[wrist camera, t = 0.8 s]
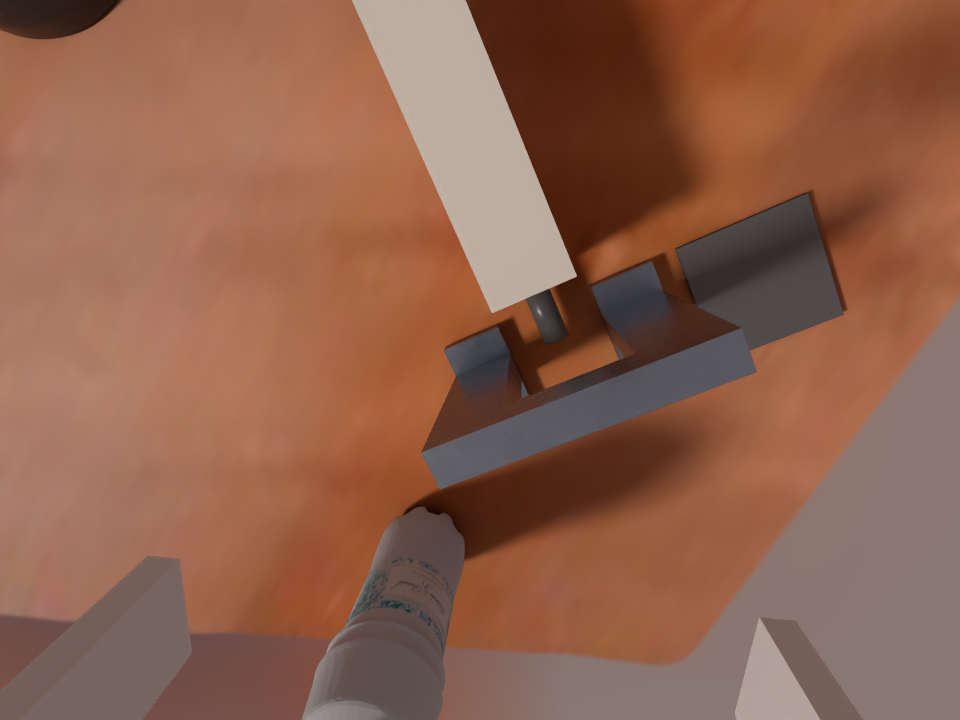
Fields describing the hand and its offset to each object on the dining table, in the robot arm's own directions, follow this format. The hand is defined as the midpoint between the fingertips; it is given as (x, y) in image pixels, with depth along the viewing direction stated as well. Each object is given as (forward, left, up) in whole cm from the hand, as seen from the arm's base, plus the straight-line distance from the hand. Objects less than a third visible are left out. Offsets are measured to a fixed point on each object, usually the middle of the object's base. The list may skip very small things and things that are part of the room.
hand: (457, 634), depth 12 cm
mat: (+2, +17, -24) cm, 30 cm away
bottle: (+11, -11, -25) cm, 29 cm away
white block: (-11, +4, -24) cm, 27 cm away
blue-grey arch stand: (+1, +4, -24) cm, 25 cm away
